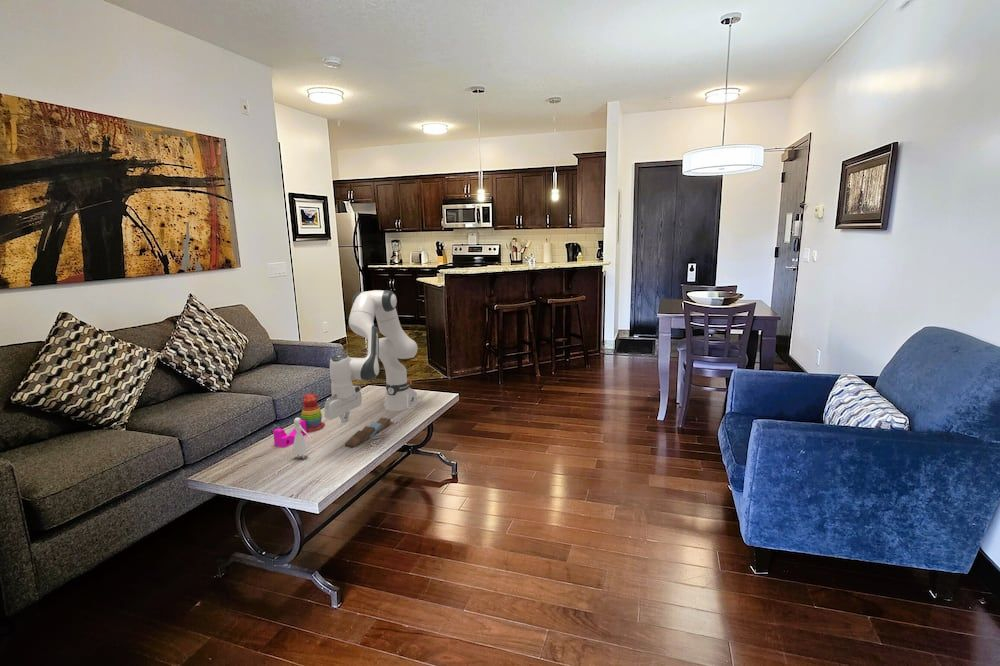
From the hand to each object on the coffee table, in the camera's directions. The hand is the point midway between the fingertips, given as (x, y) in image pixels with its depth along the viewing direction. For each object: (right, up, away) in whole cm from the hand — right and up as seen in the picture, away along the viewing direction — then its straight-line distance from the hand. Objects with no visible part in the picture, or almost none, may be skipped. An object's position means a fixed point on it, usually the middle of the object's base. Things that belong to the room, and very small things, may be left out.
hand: (345, 422), depth 207 cm
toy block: (-28, -11, +12) cm, 33 cm away
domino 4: (+8, -8, +20) cm, 23 cm away
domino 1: (+1, -11, +3) cm, 12 cm away
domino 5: (+9, -8, +23) cm, 26 cm away
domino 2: (+3, -10, +8) cm, 14 cm away
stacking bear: (-24, -9, +26) cm, 37 cm away
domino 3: (+5, -10, +14) cm, 17 cm away
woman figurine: (-16, -14, -6) cm, 23 cm away
